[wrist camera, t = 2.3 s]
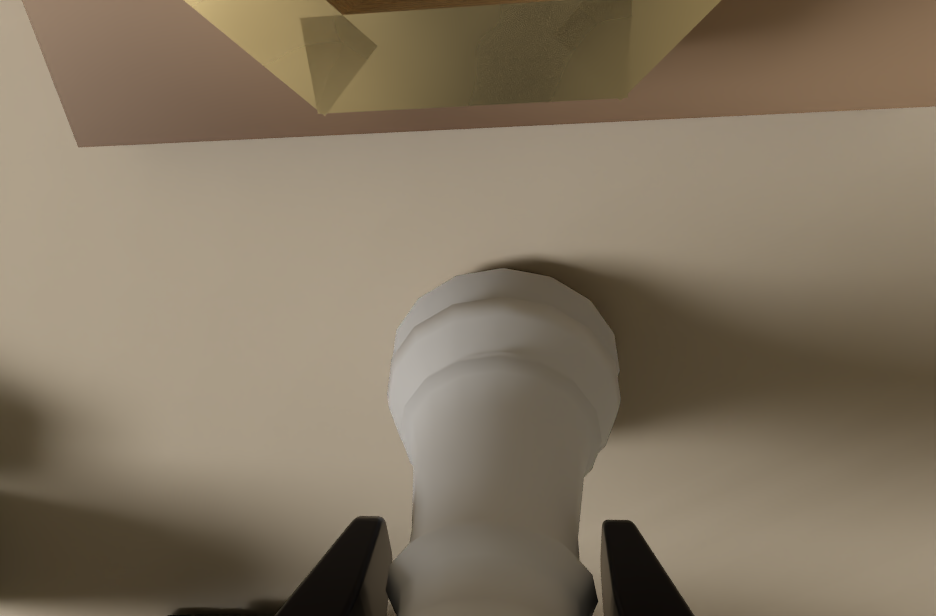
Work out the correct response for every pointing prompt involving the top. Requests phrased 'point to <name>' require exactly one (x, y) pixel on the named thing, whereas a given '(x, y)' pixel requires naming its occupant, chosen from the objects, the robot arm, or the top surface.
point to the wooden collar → (454, 48)
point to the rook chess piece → (499, 444)
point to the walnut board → (655, 97)
